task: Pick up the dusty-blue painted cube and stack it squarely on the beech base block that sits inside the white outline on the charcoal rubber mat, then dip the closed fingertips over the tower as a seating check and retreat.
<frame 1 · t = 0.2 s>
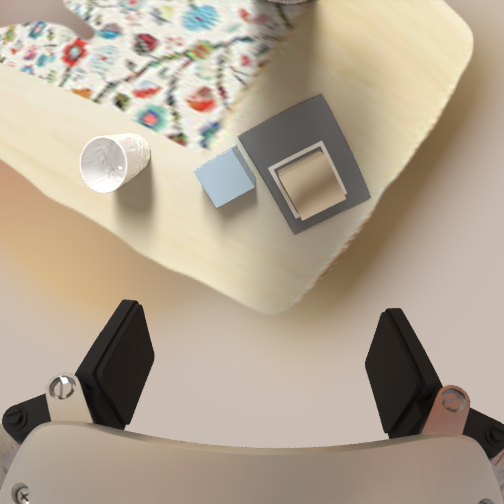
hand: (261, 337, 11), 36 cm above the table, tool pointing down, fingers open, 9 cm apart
base block: (308, 180, 44), resting on mat
blue block: (229, 171, 44), on the table
white cup: (132, 153, 43), on the table
mat: (308, 165, 43), on the table
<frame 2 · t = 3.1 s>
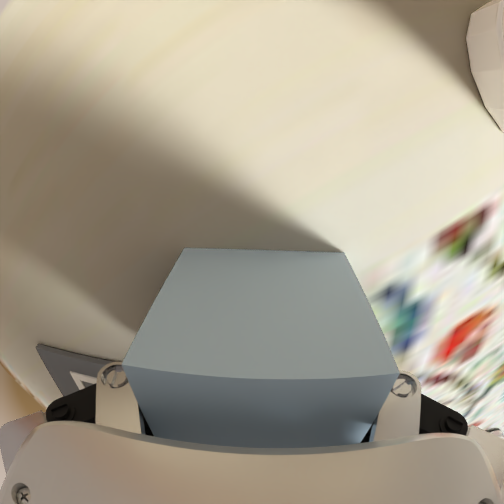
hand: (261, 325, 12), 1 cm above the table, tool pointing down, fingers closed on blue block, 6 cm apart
blue block: (262, 315, 12), on the table, touching gripper
mat: (183, 433, 17), on the table
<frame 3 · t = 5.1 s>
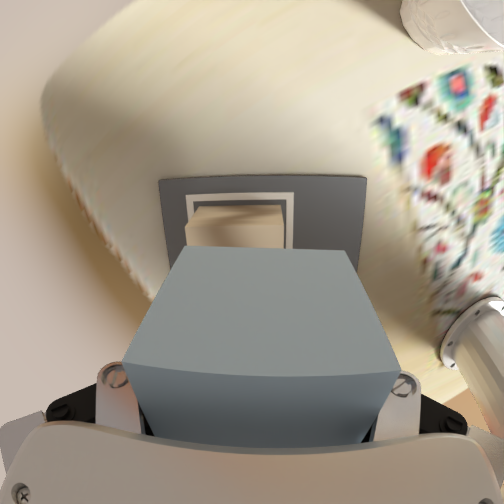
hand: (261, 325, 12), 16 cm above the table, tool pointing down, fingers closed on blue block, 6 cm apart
base block: (241, 242, 27), resting on mat
blue block: (262, 313, 12), point 15 cm above the table, touching gripper
white cup: (429, 24, 17), on the table
mat: (263, 250, 27), on the table
when the fingers open (7 cm above the table, at t = 7.4 s): blue block drops 1 cm, resting on base block.
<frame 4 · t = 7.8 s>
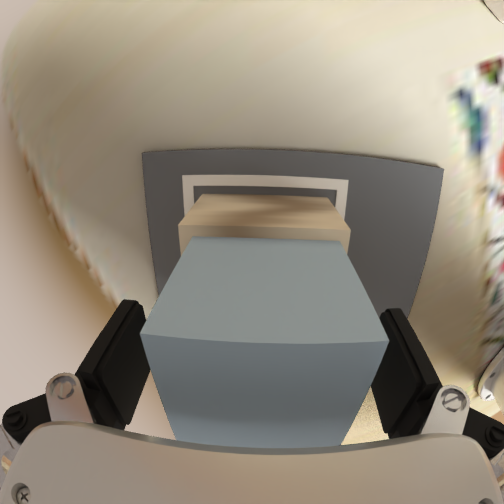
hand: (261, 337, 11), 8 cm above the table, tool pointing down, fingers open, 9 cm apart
base block: (263, 252, 18), resting on mat, touching blue block
blue block: (264, 300, 13), point 5 cm above the table, touching base block
mat: (295, 264, 18), on the table
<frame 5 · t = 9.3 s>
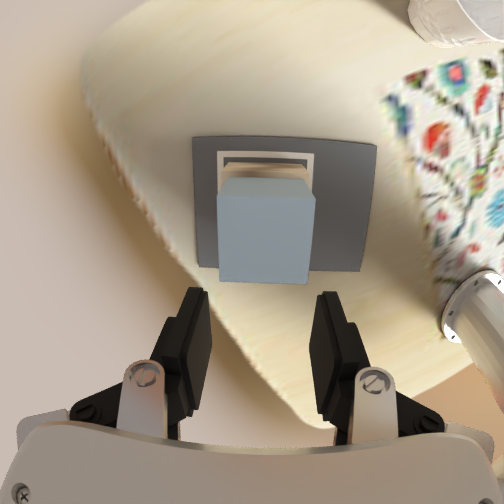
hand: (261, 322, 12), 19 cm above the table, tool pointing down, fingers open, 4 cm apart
base block: (264, 197, 29), resting on mat, touching blue block
blue block: (265, 213, 24), point 5 cm above the table, touching base block
white cup: (432, 22, 19), on the table
mat: (284, 206, 30), on the table
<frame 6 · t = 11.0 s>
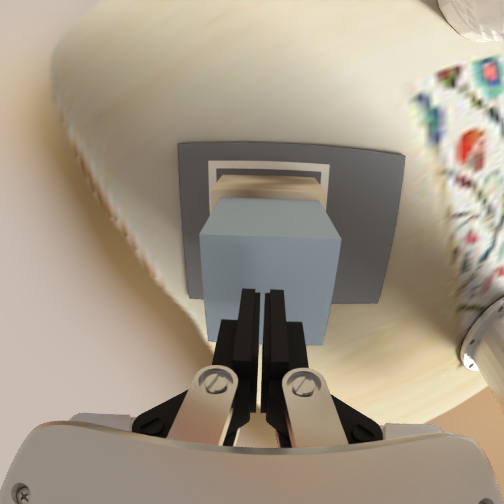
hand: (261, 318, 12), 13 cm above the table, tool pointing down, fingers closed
base block: (267, 218, 23), resting on mat, touching blue block
blue block: (268, 244, 19), point 5 cm above the table, touching base block
white cup: (463, 11, 14), on the table
mat: (291, 229, 24), on the table
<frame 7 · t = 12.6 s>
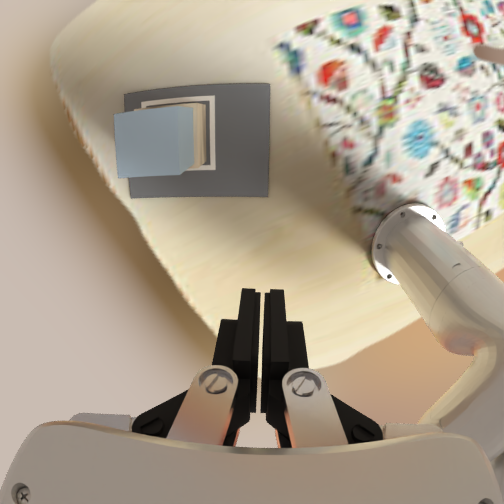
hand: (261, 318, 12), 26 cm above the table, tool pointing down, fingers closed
base block: (177, 134, 33), resting on mat, touching blue block
blue block: (165, 137, 28), point 5 cm above the table, touching base block
mat: (194, 141, 34), on the table
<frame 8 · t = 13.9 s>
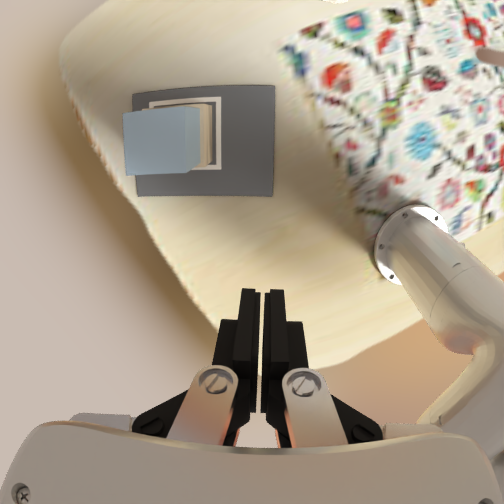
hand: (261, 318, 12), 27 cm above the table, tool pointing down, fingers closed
base block: (184, 134, 34), resting on mat, touching blue block
blue block: (173, 136, 29), point 5 cm above the table, touching base block
mat: (200, 141, 35), on the table
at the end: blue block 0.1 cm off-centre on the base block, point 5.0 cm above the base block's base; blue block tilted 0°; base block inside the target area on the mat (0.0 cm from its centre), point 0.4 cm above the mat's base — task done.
